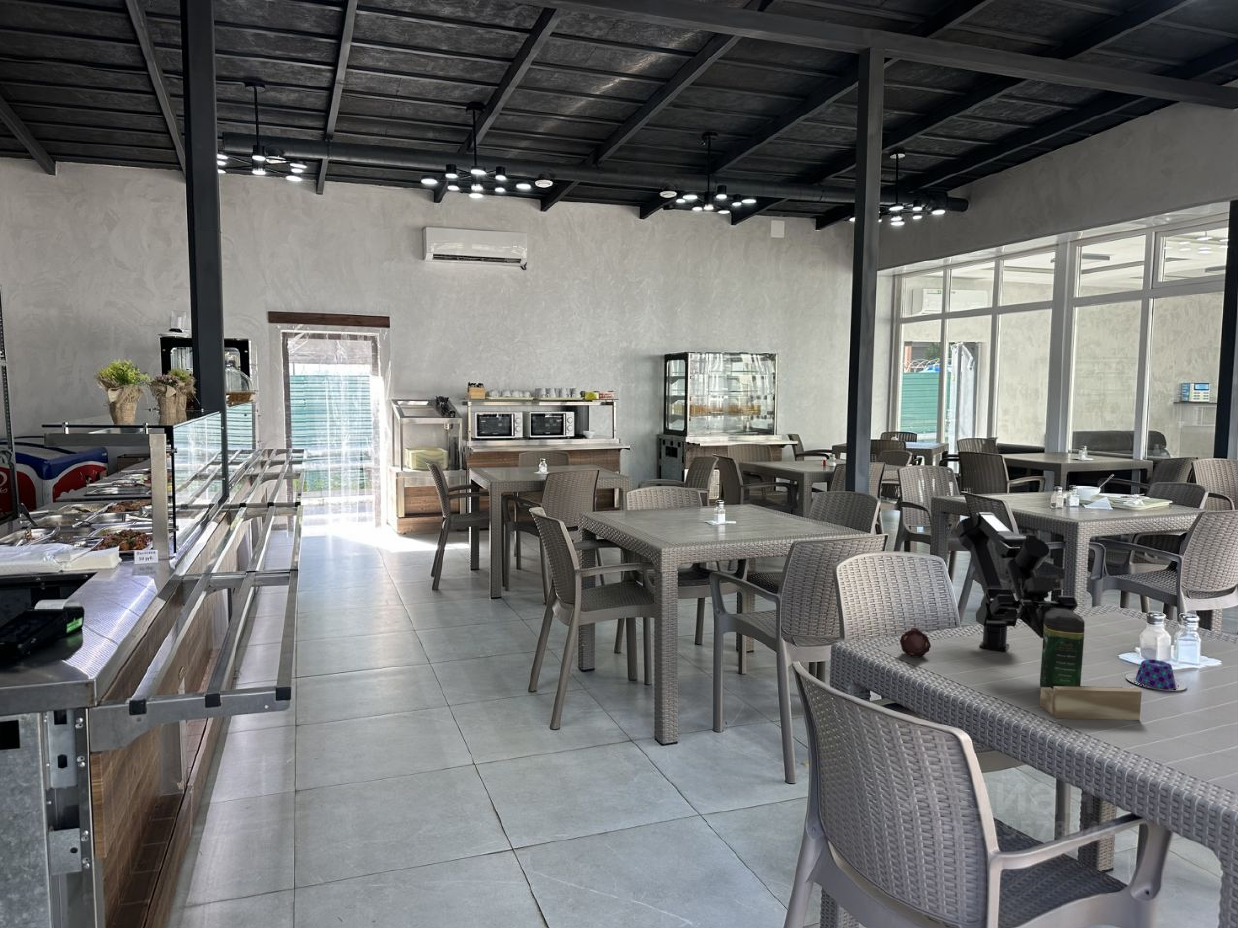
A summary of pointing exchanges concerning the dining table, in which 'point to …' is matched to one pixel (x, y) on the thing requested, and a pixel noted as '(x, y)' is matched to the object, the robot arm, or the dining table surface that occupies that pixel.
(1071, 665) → the coffee jar
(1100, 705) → the block
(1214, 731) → the dining table surface
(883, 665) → the dining table surface
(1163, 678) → the purple patterned hat
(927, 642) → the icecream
